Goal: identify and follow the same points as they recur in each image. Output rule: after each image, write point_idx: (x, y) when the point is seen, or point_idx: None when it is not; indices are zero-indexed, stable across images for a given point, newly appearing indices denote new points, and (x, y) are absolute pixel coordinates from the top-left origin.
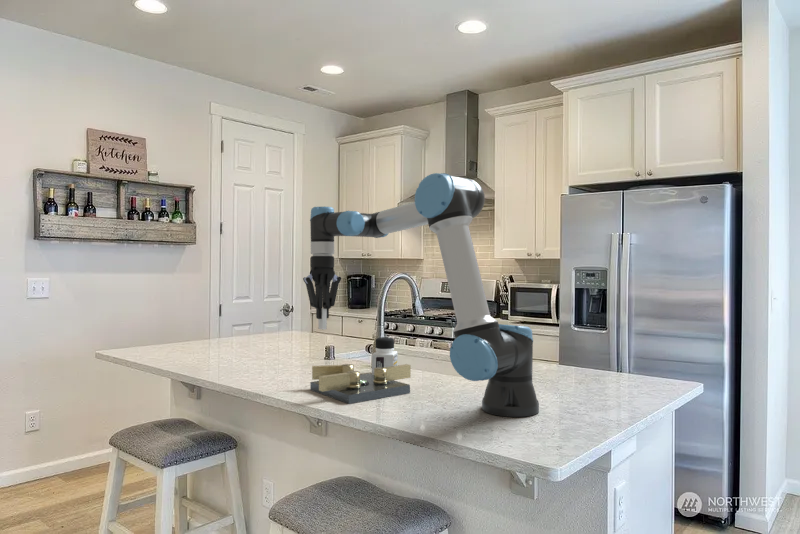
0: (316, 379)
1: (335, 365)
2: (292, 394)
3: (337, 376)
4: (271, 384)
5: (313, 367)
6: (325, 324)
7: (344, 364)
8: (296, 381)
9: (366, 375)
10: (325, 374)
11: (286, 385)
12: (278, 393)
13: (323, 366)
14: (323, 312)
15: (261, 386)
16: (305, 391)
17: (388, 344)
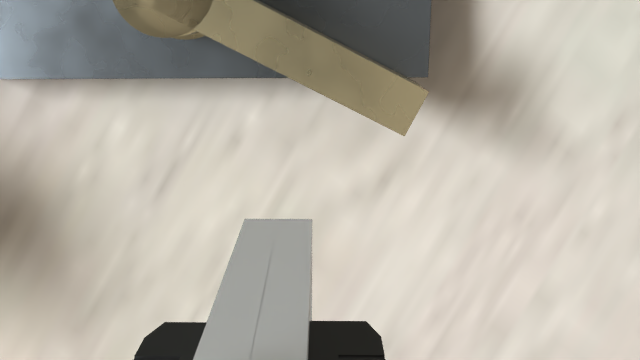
0: (389, 68)
1: (250, 31)
2: (562, 34)
3: None
4: (513, 334)
5: (420, 88)
6: (257, 245)
7: (167, 26)
8: None
9: (4, 30)
10: (335, 41)
11: (462, 264)
12: (608, 108)
13: (351, 53)
14: (283, 353)
15: (581, 321)
16: (461, 58)
17: None
